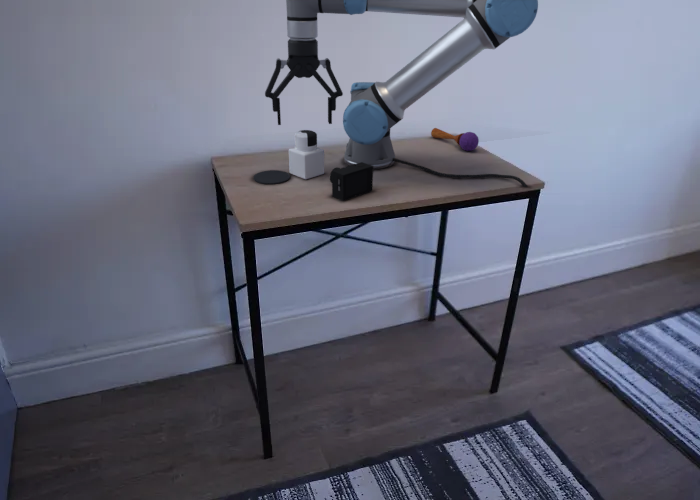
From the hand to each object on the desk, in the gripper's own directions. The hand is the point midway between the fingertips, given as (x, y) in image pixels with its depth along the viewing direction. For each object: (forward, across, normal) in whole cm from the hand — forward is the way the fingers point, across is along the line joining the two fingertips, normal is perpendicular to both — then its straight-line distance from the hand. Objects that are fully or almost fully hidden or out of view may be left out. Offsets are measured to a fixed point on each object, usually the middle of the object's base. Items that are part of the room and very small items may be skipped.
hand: (304, 123), depth 142 cm
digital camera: (+14, -10, +16) cm, 24 cm away
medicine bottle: (+14, 0, 0) cm, 15 cm away
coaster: (+14, +10, +2) cm, 17 cm away
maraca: (+14, -50, -22) cm, 57 cm away
